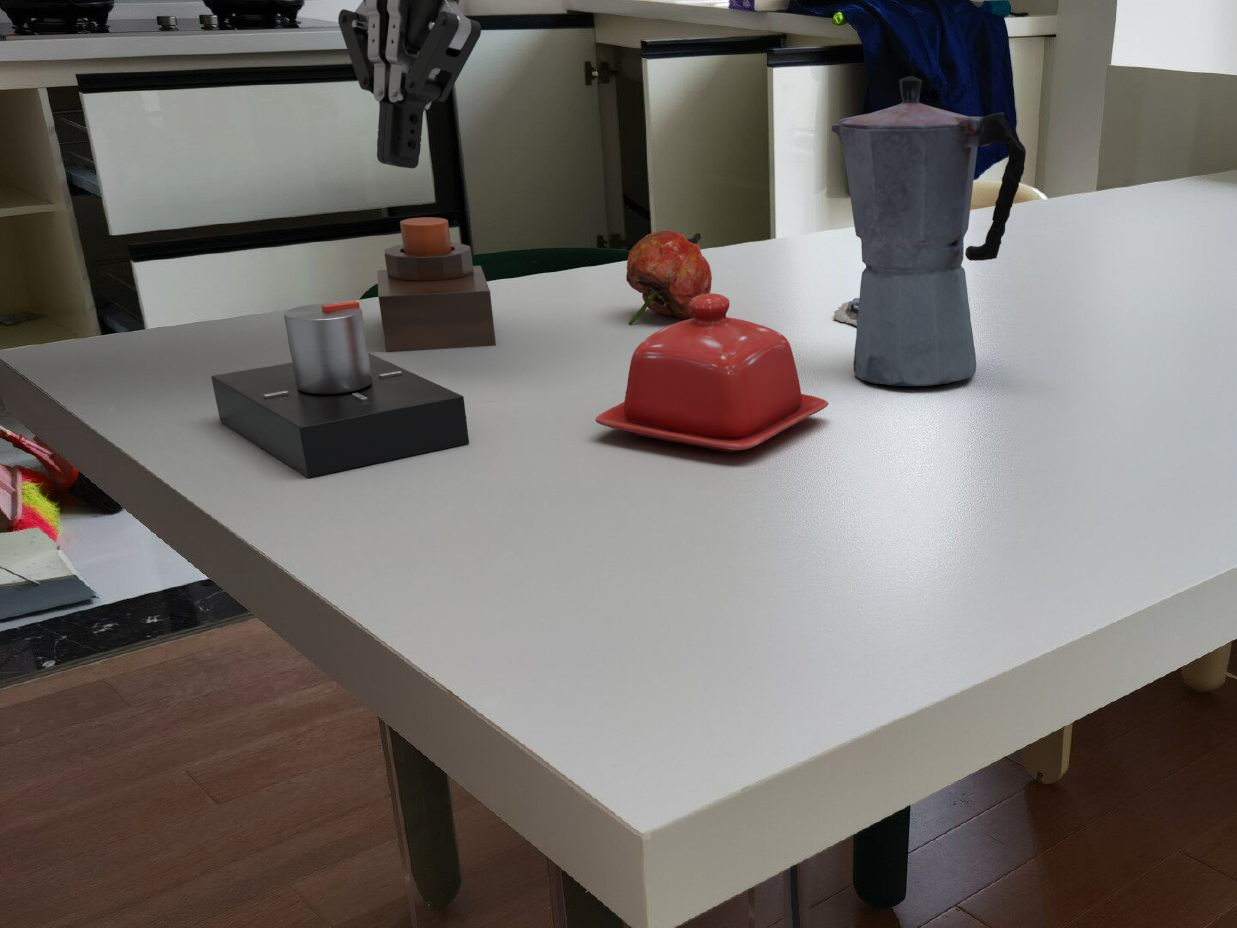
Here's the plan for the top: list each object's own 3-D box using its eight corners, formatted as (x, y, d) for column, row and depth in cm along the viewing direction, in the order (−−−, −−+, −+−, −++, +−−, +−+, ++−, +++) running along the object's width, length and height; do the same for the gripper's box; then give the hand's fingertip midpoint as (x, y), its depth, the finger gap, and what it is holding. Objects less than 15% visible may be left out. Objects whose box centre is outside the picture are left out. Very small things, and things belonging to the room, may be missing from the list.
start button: (453, 257, 109) (449, 223, 108) (404, 259, 108) (400, 225, 107) (450, 249, 112) (446, 216, 111) (403, 251, 111) (399, 218, 110)
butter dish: (744, 469, 82) (740, 324, 78) (586, 439, 86) (574, 301, 83) (837, 419, 91) (837, 287, 87) (689, 395, 96) (683, 268, 92)
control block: (496, 346, 107) (487, 266, 104) (386, 353, 104) (374, 271, 102) (485, 313, 116) (477, 240, 114) (384, 319, 114) (373, 244, 111)
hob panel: (219, 422, 89) (210, 373, 87) (371, 394, 95) (364, 348, 93) (308, 478, 79) (299, 424, 78) (469, 443, 85) (463, 393, 84)
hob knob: (311, 398, 83) (297, 317, 81) (286, 382, 86) (272, 304, 84) (383, 386, 85) (372, 307, 83) (356, 371, 88) (344, 294, 86)
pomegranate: (675, 359, 113) (753, 271, 115) (616, 291, 108) (699, 201, 110) (635, 350, 118) (710, 266, 120) (577, 285, 114) (656, 199, 116)
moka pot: (863, 347, 108) (866, 68, 99) (1044, 377, 101) (1065, 79, 92) (795, 374, 101) (791, 75, 92) (985, 408, 94) (1001, 88, 85)
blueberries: (914, 308, 121) (914, 286, 120) (913, 330, 114) (914, 306, 113) (836, 306, 121) (836, 284, 120) (830, 328, 114) (830, 304, 113)
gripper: (306, -135, 89) (291, 148, 93) (428, -147, 82) (405, 163, 86) (409, -97, 95) (390, 168, 99) (531, -104, 87) (505, 183, 92)
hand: (397, 165), depth 92 cm, fingers closed
